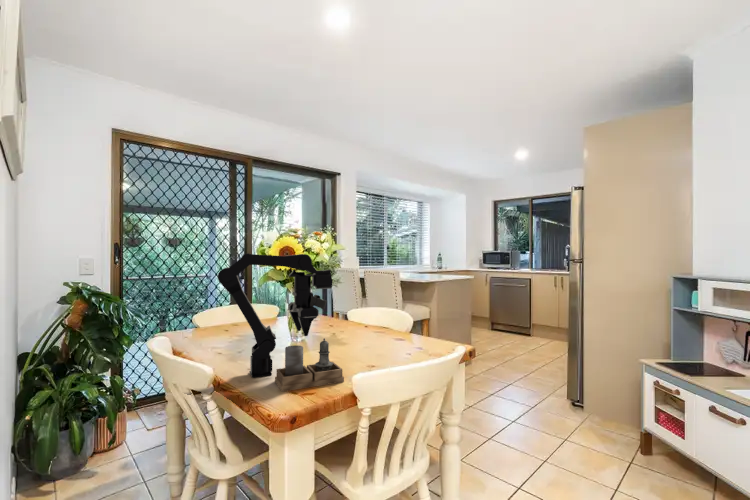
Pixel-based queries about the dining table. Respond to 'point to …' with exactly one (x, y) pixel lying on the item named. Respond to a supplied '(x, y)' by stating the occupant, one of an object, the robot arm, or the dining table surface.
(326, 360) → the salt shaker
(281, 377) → the condiment rack
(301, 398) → the dining table surface
